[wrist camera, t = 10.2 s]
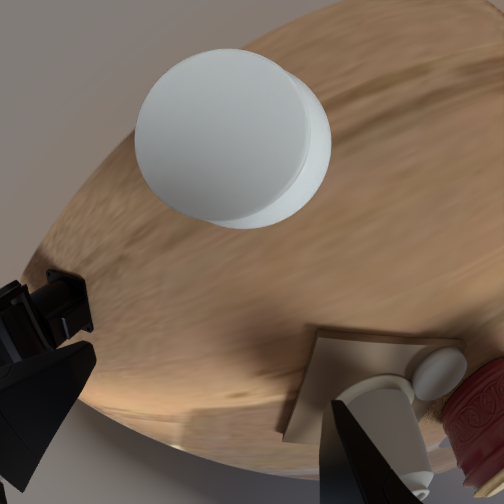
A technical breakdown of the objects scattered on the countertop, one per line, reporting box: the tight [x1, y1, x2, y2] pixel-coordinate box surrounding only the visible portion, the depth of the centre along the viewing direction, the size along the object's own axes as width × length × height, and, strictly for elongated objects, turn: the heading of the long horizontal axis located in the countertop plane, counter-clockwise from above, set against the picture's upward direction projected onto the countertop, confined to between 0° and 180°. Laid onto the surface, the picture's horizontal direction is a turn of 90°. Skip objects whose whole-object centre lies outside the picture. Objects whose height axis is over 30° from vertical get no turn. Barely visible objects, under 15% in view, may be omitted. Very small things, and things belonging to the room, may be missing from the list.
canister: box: [442, 358, 504, 497], centre depth 13 cm, size 13×13×18 cm
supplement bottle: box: [135, 49, 331, 229], centre depth 12 cm, size 7×7×13 cm
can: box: [347, 388, 434, 501], centre depth 16 cm, size 8×8×12 cm
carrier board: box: [282, 329, 467, 445], centre depth 22 cm, size 16×16×3 cm
